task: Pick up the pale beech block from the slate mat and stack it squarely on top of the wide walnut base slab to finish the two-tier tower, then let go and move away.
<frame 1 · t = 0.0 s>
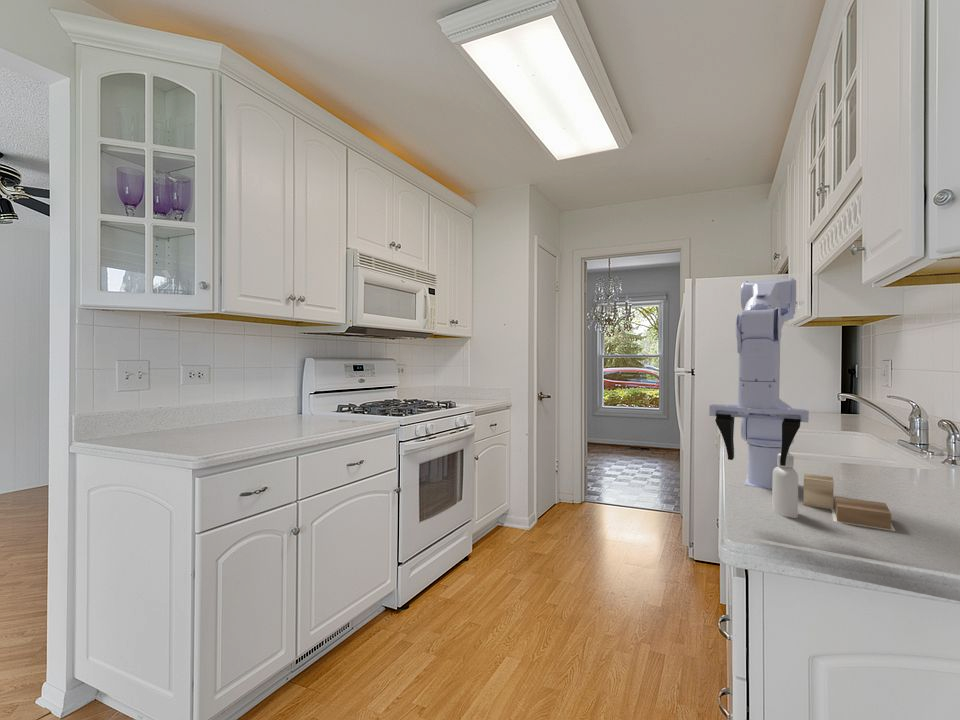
hand: (756, 461, 85), 10 cm above the counter, tool pointing down, fingers open, 7 cm apart
eye dropper bottle: (784, 516, 88), on the counter
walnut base: (861, 519, 85), resting on slate mat
slate mat: (844, 516, 88), on the counter
beech block: (817, 504, 94), resting on slate mat
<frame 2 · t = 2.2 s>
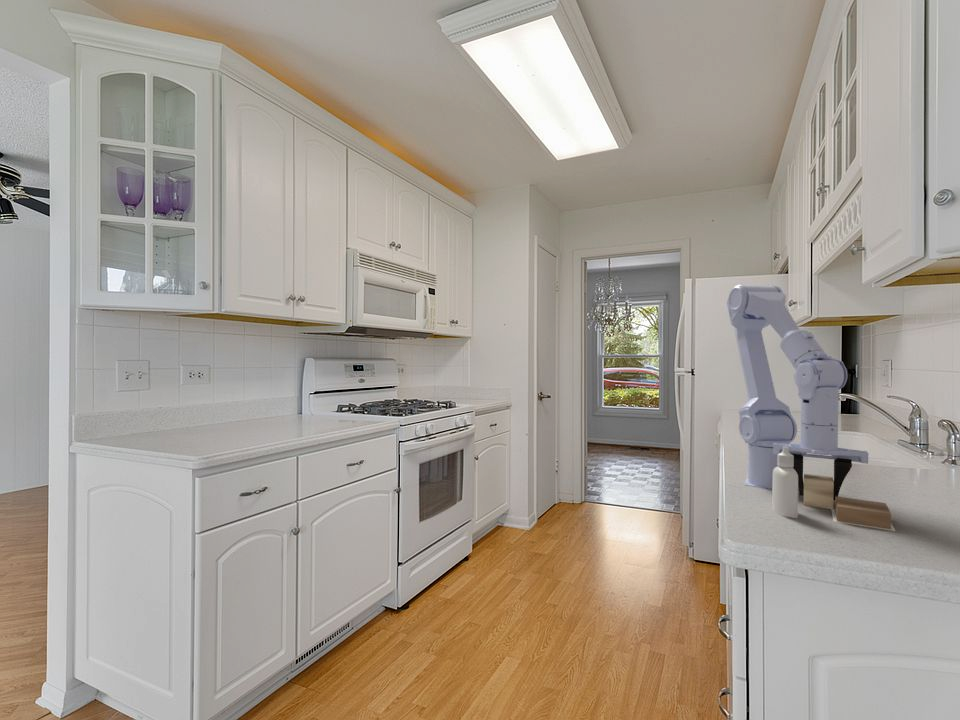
hand: (818, 496, 94), 2 cm above the counter, tool pointing down, fingers closed on beech block, 4 cm apart
beech block: (817, 504, 94), resting on slate mat, touching gripper
everything else where it was.
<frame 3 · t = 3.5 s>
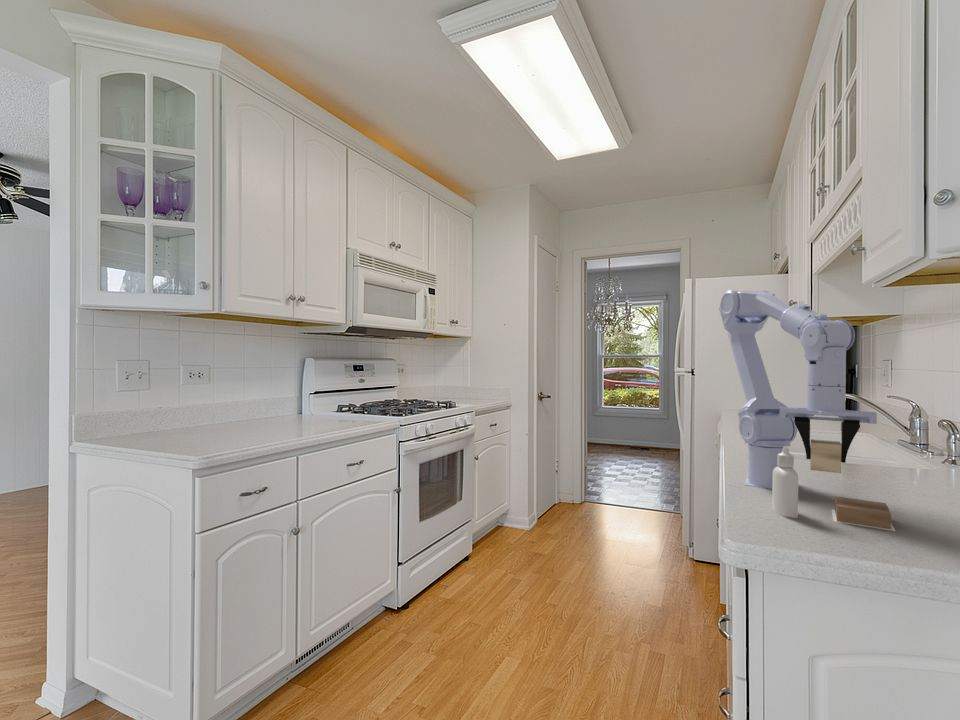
hand: (825, 460, 92), 9 cm above the counter, tool pointing down, fingers closed on beech block, 4 cm apart
beech block: (825, 469, 92), point 7 cm above the counter, touching gripper
everything else where it was.
when the fingers open (6 cm above the counter, at t = 4.9 s): beech block drops 1 cm, resting on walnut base.
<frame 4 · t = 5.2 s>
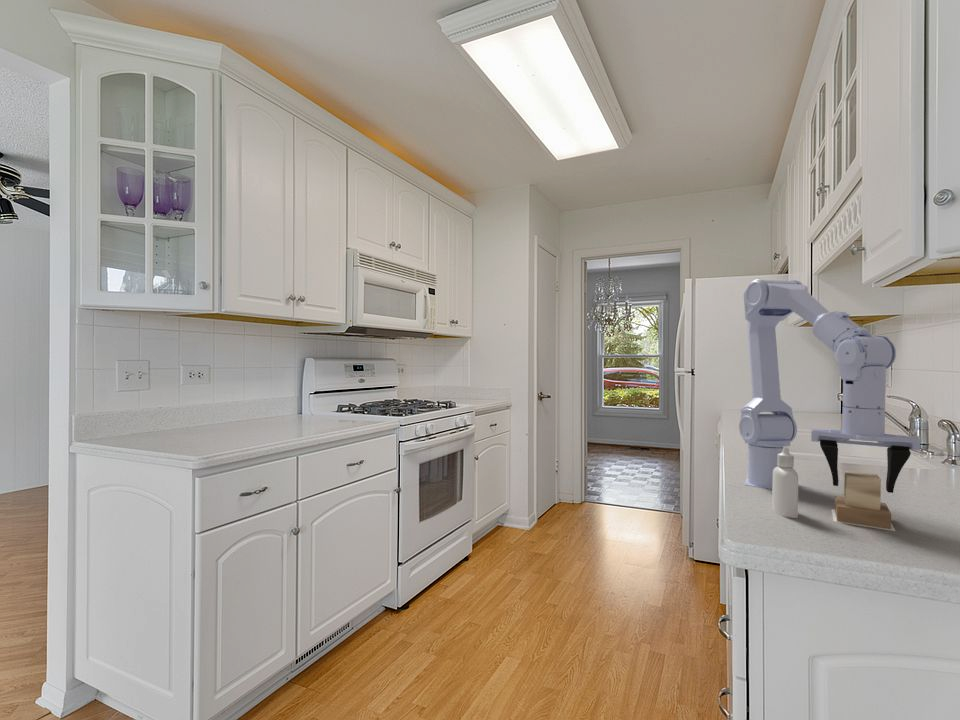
hand: (861, 488, 85), 6 cm above the counter, tool pointing down, fingers open, 7 cm apart
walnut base: (861, 519, 85), resting on slate mat, touching beech block
beech block: (861, 504, 85), point 3 cm above the counter, touching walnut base
everything else where it was.
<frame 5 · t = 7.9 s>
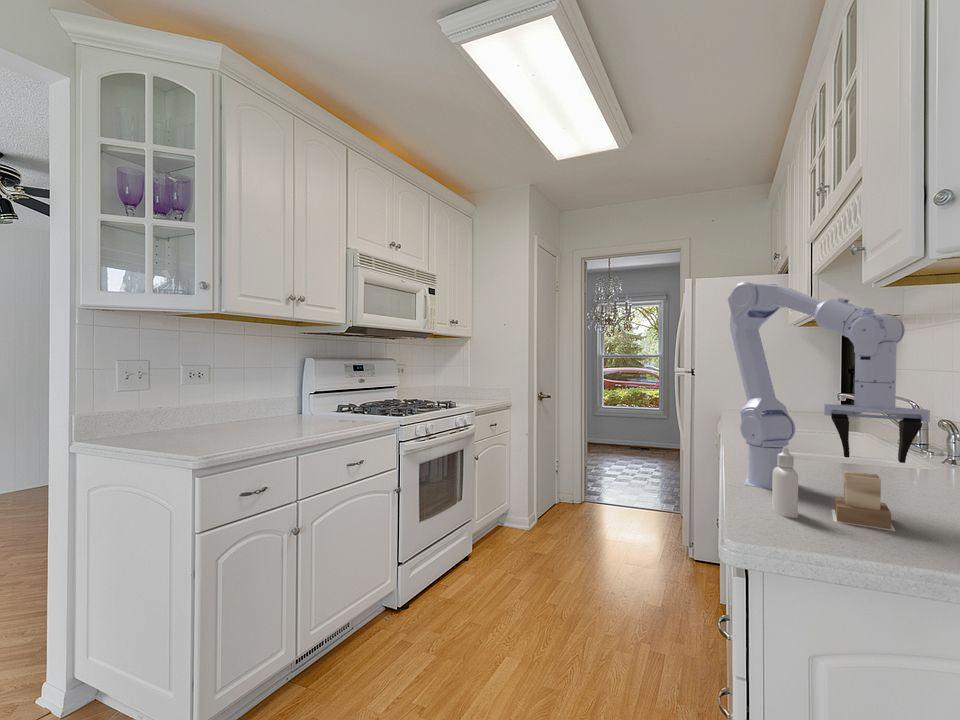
hand: (873, 459, 89), 10 cm above the counter, tool pointing down, fingers open, 7 cm apart
nothing on the counter moved.
at the end: beech block 0.1 cm off-centre on the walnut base, point 2.5 cm above the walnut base's base; beech block tilted 0°; the gripper is holding nothing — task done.
